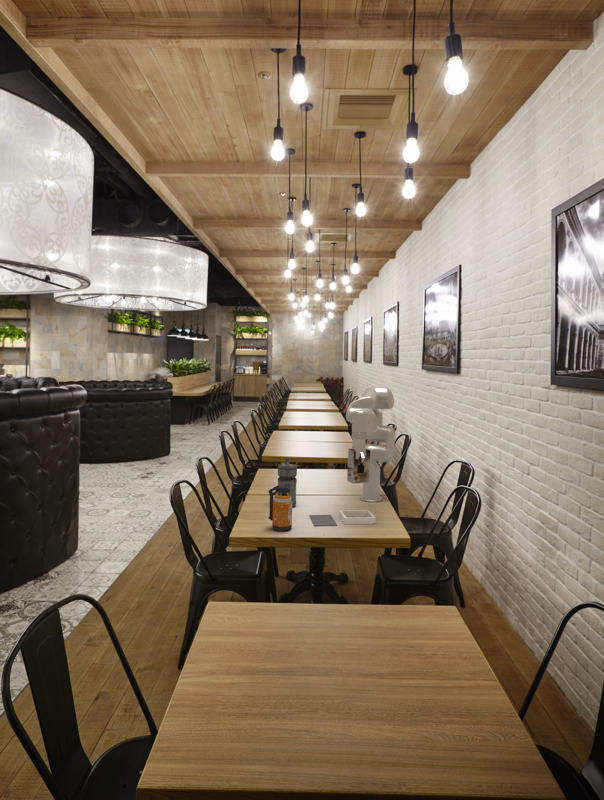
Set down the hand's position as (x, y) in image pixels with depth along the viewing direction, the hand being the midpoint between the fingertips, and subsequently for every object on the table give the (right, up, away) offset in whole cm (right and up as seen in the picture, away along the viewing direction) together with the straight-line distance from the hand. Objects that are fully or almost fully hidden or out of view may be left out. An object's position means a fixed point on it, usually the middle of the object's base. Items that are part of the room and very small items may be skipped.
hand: (358, 470), depth 247 cm
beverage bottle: (-36, -22, +24) cm, 49 cm away
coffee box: (0, -6, +1) cm, 6 cm away
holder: (-1, -24, +2) cm, 25 cm away
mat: (-17, -24, -1) cm, 30 cm away
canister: (-38, -25, -13) cm, 48 cm away
